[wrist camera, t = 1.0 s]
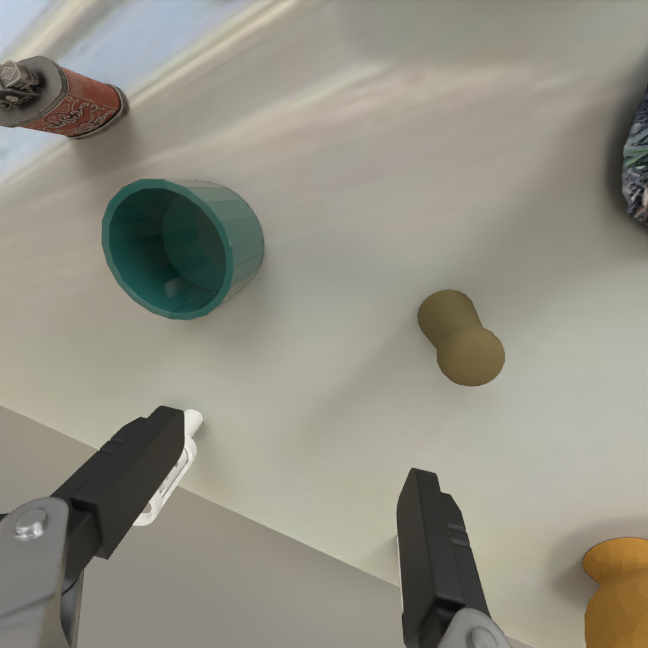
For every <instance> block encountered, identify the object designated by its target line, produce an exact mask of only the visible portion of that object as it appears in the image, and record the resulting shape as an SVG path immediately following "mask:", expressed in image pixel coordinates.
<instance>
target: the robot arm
mask: <svg viewBox="0 0 648 648" xmlns="http://www.w3.org/2000/svg"><path fill="white" fill-rule="evenodd" d="M184 445H185V416H184V412H183V411H182V410H178V409H174V408H170V407H166V406H159V407H158V408H157V409H156V410H155V411H154V412H153V413H152V414H151V415H150V416H149V417H148V418H143V417H139V418H138V419H136V420H134V421H132V422H130V423H128V424H127V425H125V426H123V427H122V428H121V429H120V430H119V431H118V432H117V433H116V434H115V435H114V436H113V437H112V438H111V440H110V441H108V442H106V443H105V444H104V445H103V446H102V447H101V448H100V451H97V452H96V453H95V454H94V455H93V456H92V457H91V458H90V459H89V460H88V461H87V462H86V463H85V464H83V465H82V466H81V467H80V468H79V469H78V470H77V471H76V472H75V473H74V474H73V475H72V476H71V477H70V478H69V479H68V480H67V481H66V482H65V483H64V484H63V485H61V487H59V488H58V489H57V490H56V491H55V492H54V493H53V494H52V495H50V496H49V497H43V498H38V499H35V500H32V501H30V502H27V503H25V504H23V505H21V506H19V507H18V508H16V509H15V510H13V511H12V512H10V513H7V514H0V648H77V639H78V629H79V618H80V607H81V597H82V588H83V577H84V568H85V567H86V566H87V564H88V563H89V562H90V560H91V559H92V557H93V556H97V557H100V558H104V559H107V560H108V558H109V557H110V556H111V554H112V553H113V551H114V550H115V549H116V547H117V546H118V544H119V543H120V542H121V540H122V539H123V538H124V536H125V535H126V533H127V532H128V531H129V529H130V528H131V526H132V525H133V523H134V522H135V521H136V519H137V518H138V516H139V515H140V514H141V512H142V511H143V509H144V508H145V507H146V505H147V504H148V502H149V501H150V500H151V498H152V497H153V495H154V494H155V493H156V491H157V490H158V488H159V487H160V486H161V484H162V483H163V481H164V480H165V479H166V477H167V476H168V474H169V473H170V472H171V470H172V469H173V467H174V466H175V465H176V463H177V462H178V460H179V458H180V457H181V454H182V452H183V449H184ZM397 530H398V543H399V557H400V570H401V583H402V597H403V610H404V624H405V637H406V644H408V645H412V646H415V647H419V648H512V647H511V645H510V643H509V641H508V639H507V638H506V636H505V634H504V633H503V631H502V630H501V629H500V628H499V626H498V625H497V624H496V623H495V622H494V621H493V620H492V618H491V616H490V614H489V611H488V608H487V604H486V601H485V597H484V593H483V590H482V586H481V582H480V579H479V575H478V571H477V568H476V564H475V561H474V557H473V553H472V550H471V548H470V542H469V539H468V535H467V533H466V528H465V524H464V521H463V517H462V513H461V511H460V509H459V507H458V506H457V504H456V503H455V501H454V500H453V498H452V496H451V495H450V494H446V493H442V492H441V491H440V486H439V482H438V478H437V475H436V474H435V473H432V472H428V471H424V470H420V469H416V468H411V470H410V472H409V474H408V477H407V479H406V482H405V484H404V486H403V489H402V491H401V494H400V496H399V499H398V504H397Z"/></svg>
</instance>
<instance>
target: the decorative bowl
mask: <svg viewBox="0 0 648 648" xmlns="http://www.w3.org/2000/svg"><path fill="white" fill-rule="evenodd" d="M582 563H583V566H584V569H585V572H586V573H587V574H588V575H589V576H590V577H591V578H593V579H594V580H595V581H596V582H598V583H599V584H600V585H601V587H600V588H599V589H598V590H597V592H596V593H595V594H594V595H593V597H592V598H591V599H590V601H589V604H588V607H587V610H586V613H585V640H586V647H587V648H648V540H644V539H639V538H618V539H613V540H609V541H606V542H603V543H601V544H598V545H596V546H595V547H593V548H592V549H591V550H589V551H588V552H587V553H586V555H585V558H584V560H583V562H582Z"/></svg>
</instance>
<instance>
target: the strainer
mask: <svg viewBox="0 0 648 648" xmlns="http://www.w3.org/2000/svg"><path fill="white" fill-rule="evenodd" d="M184 416H185V445H184V449H183V452H182V454H181V457H180V458H179V460H178V462H177V463H176V465H175V466H174V467H173V469H172V470H171V472H170V473H169V474H168V476H167V477H166V479H165V480H164V481H163V483H162V484H161V486H160V487H159V488H158V490H157V491H156V493H155V494H154V495H153V497H152V498H151V500H150V501H149V502H148V503H150V504H151V506H152V510H151V512H150V513H145V514H140V515H139V516H138V518H137V519H136V521H135V522H134V523H133V525H135V526H143V525H147V524H150V523H151V522H152V521H154V519H155V518H156V516H157V515H158V513H159V512H160V510H161V508H162V506H163V505H164V503H165V502H166V500H167V499H168V497H169V496H170V494H171V493H172V491H173V490H174V488H175V487H176V485H177V484H178V482H179V481H180V479H181V478H182V476H183V475H184V473H185V472H186V470H187V469H188V468H189V467H190V465H191V464H192V462H193V461H194V459H195V457H196V454H197V450H196V446H195V443H194V441H193V440H192V436H193V435H194V433H195V432H196V431H197V429H198V428H199V427H200V425H201V424H202V422H203V417H202V415H201V414H200V413H199V412H198V411H196V410H193V409H188V410H186V411H185V412H184Z"/></svg>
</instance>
